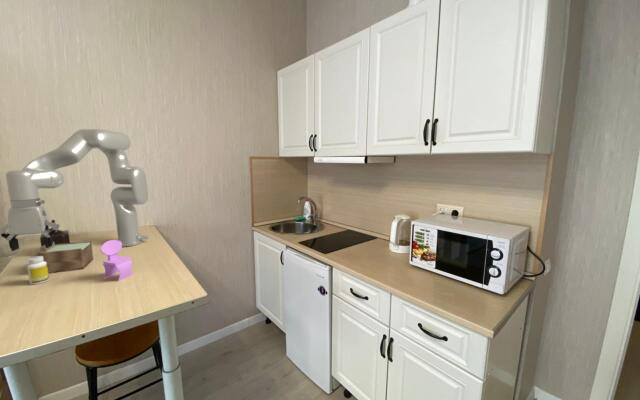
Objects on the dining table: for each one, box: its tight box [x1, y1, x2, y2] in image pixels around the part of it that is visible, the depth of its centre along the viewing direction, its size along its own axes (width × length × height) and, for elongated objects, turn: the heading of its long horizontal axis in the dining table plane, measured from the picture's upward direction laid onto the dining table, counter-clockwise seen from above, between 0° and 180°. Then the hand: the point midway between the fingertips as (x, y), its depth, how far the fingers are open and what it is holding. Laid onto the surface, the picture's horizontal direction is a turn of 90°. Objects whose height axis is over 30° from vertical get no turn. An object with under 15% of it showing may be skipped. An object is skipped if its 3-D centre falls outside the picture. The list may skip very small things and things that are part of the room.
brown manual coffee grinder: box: [39, 219, 71, 247], centre depth 136 cm, size 16×11×18 cm
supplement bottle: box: [26, 255, 50, 285], centre depth 107 cm, size 5×5×10 cm
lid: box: [39, 242, 90, 253], centre depth 120 cm, size 14×9×3 cm, turn 113°
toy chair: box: [100, 239, 134, 282], centre depth 111 cm, size 8×9×15 cm
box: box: [36, 240, 94, 275], centre depth 121 cm, size 14×12×9 cm
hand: (32, 248), depth 105 cm, fingers open, 9 cm apart
